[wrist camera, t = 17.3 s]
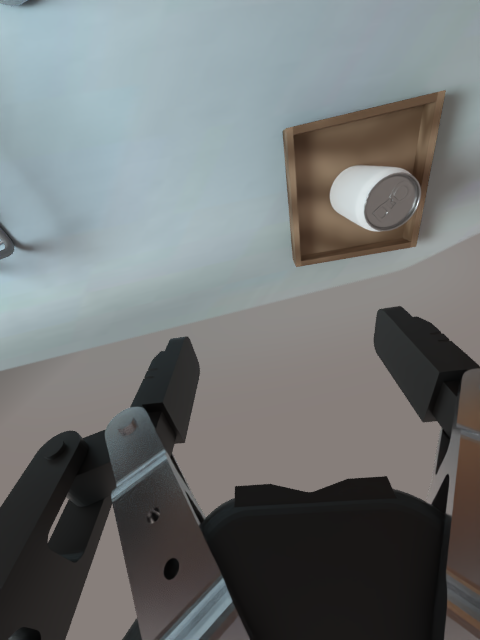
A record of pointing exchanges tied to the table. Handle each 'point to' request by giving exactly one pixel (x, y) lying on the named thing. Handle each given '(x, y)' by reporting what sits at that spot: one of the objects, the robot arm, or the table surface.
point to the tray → (350, 150)
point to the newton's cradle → (6, 245)
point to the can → (376, 196)
